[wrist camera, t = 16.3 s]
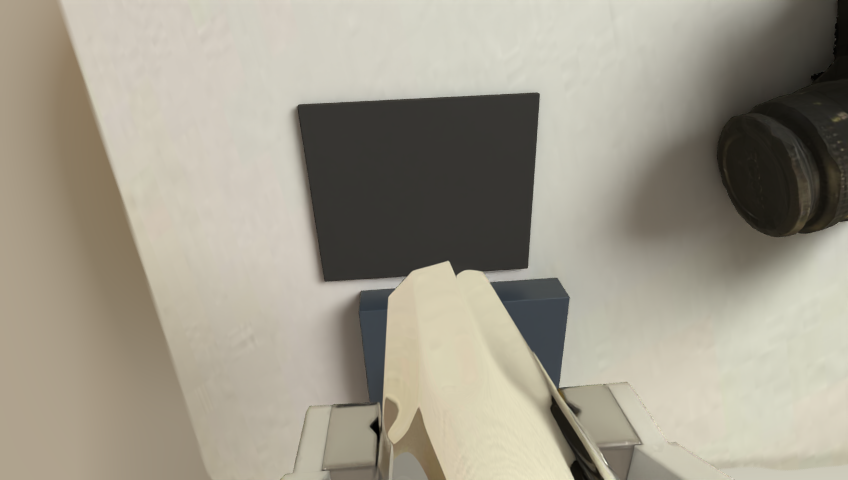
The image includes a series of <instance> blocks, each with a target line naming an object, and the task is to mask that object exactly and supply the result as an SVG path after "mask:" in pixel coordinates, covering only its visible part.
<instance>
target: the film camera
mask: <svg viewBox="0 0 848 480" xmlns="http://www.w3.org/2000/svg"><path fill="white" fill-rule="evenodd" d="M836 19H837V23H836V24H835V29H836V31H835V38H836V41H835V43H834V44H835V45H836V47H835V48H834V49H833V50H834V53H833V54H834V55H835V61H834V63H833V64H831V65H830V66H829V68H828V69H827V70H826V71H824V72H821V73H819V74H817V75H816V74H814V75H813V76H811V79H814V82H813V84H812V85H811V86H808V87H805V88H803V89H801V90H798V91H796V92H794V93H792V94H789V95H785V96H781V97H778V98H775V99H773V100H770V101H767V102H765V103H762V104H759V105H757V106H755V107H754V108H753V110H752V111H751V112H749V113H748V114H744V115H740V116H736V117H732V118H731V119H730V120H729V121H728V123H727V124H726V125H725V126H724V128H723V131H722V133H721V136H720V138H719V142H718V147H717V149H718V150H717V159H718V164H719V169H720V173H721V177H722V181H723V184H724V186H725V188H726V190H727V193H728V196H729V198H730V200H731V202H732V204H733V205H734V207H735V209H736V210H737V212H738V213H739V214H740V215H741V216H742V217H743V218H744V219H745V221H746V222H747V223H748V224H749V225H750V226H752V227H753V228H754V229H756V230H758V231H760V232H762V233H764V234H766V235H769V236H773V237H786V236H790V235H793V234H796V233H804V234H805V233H812V232H816V231H820V230H823V229H826V228H828V227H831V226H833V225H835V224H837V223H838V222H843V221H848V0H838V17H837V18H836Z"/></svg>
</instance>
